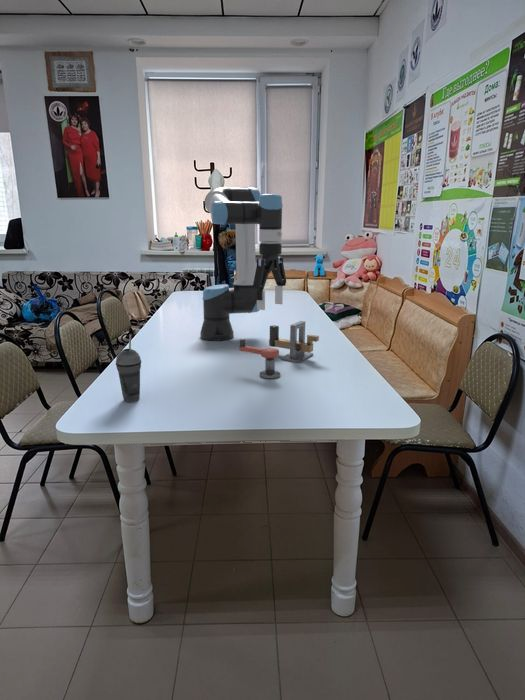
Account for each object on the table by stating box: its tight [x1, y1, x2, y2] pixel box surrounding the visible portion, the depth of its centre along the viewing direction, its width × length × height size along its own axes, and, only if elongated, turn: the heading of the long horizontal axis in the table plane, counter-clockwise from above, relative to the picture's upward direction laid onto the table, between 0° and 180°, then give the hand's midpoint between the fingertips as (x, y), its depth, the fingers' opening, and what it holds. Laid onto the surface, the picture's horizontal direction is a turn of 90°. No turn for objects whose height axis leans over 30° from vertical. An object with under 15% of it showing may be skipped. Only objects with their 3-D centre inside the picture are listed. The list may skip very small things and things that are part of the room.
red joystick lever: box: [238, 338, 280, 359], centre depth 153 cm, size 15×6×4 cm, turn 58°
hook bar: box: [268, 325, 320, 353], centre depth 173 cm, size 21×4×8 cm, turn 58°
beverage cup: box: [115, 334, 142, 403], centre depth 130 cm, size 7×7×20 cm
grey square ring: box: [280, 320, 314, 364], centre depth 172 cm, size 8×12×14 cm, turn 148°
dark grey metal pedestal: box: [259, 358, 281, 380], centre depth 153 cm, size 7×7×7 cm
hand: (270, 306), depth 157 cm, fingers open, 11 cm apart
